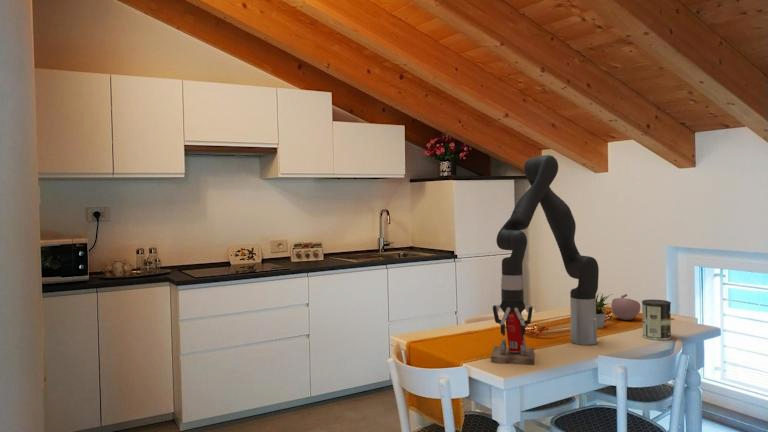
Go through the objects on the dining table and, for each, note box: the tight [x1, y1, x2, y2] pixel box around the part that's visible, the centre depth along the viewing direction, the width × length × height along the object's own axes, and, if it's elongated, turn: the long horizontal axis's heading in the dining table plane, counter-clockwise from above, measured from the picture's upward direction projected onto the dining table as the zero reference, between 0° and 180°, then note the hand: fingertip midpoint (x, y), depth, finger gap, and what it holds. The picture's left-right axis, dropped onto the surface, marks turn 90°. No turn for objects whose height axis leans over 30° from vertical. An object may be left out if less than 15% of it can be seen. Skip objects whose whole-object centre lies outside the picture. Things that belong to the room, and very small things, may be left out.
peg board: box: [490, 338, 535, 366], centre depth 198 cm, size 14×14×6 cm
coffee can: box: [641, 299, 672, 341], centre depth 223 cm, size 10×10×14 cm
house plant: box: [596, 292, 613, 329], centre depth 243 cm, size 14×14×16 cm
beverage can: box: [505, 312, 527, 352], centre depth 199 cm, size 6×6×15 cm
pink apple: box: [610, 293, 641, 321], centre depth 255 cm, size 12×12×11 cm
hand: (513, 335), depth 198 cm, fingers open, 5 cm apart
